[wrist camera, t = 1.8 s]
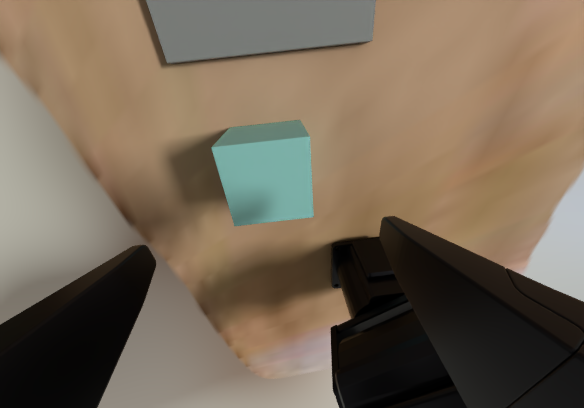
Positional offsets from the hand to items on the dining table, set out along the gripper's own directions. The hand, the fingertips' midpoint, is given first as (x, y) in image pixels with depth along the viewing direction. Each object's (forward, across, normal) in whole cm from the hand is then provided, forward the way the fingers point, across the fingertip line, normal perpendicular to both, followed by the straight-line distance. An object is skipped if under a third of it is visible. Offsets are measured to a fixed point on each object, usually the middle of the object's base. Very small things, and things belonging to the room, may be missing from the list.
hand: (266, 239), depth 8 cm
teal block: (+10, 0, 0) cm, 10 cm away
